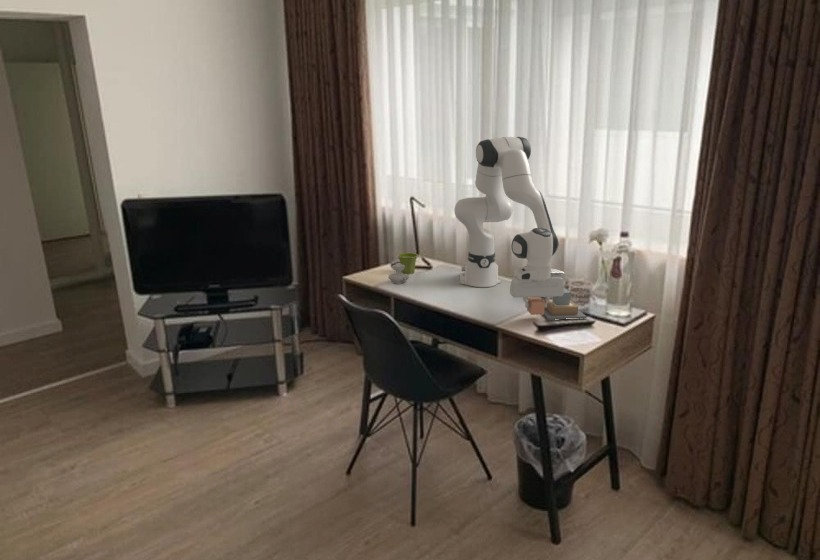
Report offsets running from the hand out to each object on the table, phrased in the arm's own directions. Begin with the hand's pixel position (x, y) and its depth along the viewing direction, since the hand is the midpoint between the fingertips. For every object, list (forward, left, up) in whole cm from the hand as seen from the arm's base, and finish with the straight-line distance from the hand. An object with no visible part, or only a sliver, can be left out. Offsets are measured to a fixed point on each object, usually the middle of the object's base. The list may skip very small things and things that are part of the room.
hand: (535, 307), depth 226 cm
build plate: (-5, +12, -5) cm, 14 cm away
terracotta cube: (0, 0, -2) cm, 2 cm away
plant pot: (-67, -41, -5) cm, 79 cm away
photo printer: (-24, +15, -5) cm, 29 cm away
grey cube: (-5, +12, -1) cm, 13 cm away
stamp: (-51, -47, -5) cm, 70 cm away
